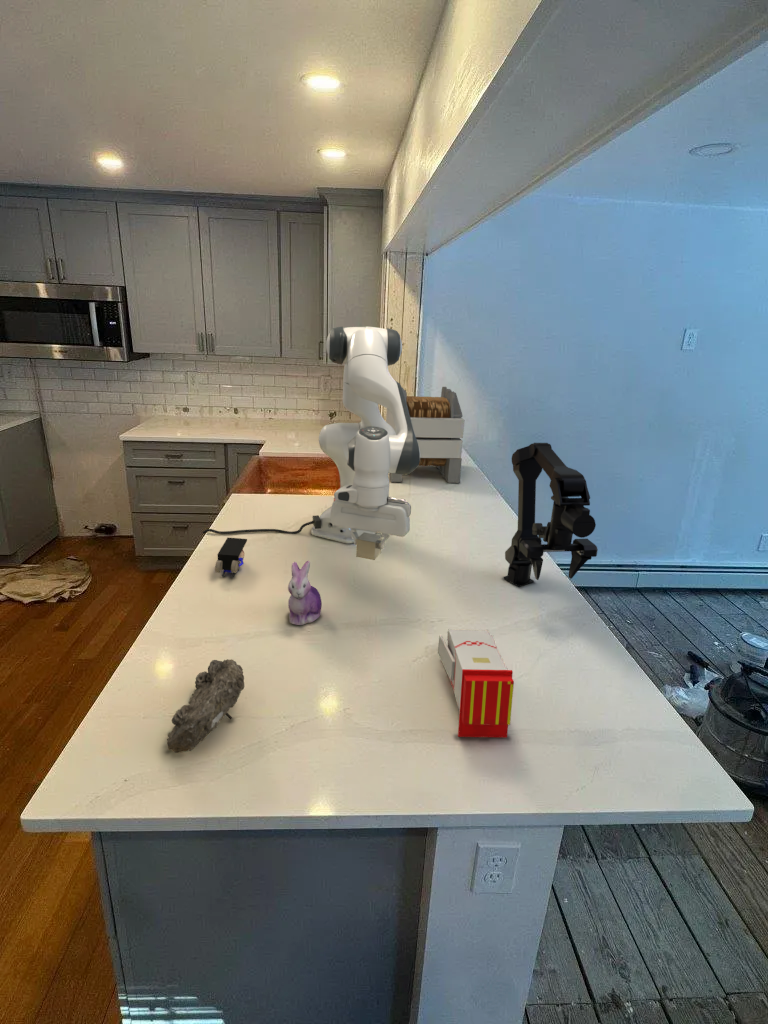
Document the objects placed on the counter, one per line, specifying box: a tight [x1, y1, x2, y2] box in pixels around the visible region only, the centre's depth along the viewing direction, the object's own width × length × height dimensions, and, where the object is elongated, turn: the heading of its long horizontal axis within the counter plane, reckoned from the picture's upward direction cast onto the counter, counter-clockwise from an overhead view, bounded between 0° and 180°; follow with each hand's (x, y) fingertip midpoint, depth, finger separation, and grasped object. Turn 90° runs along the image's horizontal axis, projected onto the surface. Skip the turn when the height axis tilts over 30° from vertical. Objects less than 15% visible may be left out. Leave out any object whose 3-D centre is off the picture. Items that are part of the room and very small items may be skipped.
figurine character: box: [214, 537, 248, 578], centre depth 166 cm, size 7×8×15 cm
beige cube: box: [355, 532, 383, 561], centre depth 144 cm, size 5×5×5 cm
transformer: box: [385, 386, 465, 484], centre depth 268 cm, size 34×33×41 cm
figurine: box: [287, 560, 323, 626], centre depth 141 cm, size 9×10×15 cm
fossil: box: [166, 658, 245, 754], centre depth 106 cm, size 22×10×15 cm
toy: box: [437, 628, 515, 738], centre depth 117 cm, size 12×13×30 cm
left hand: (369, 546), depth 144 cm, fingers closed on beige cube, 5 cm apart
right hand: (553, 578), depth 146 cm, fingers open, 9 cm apart
